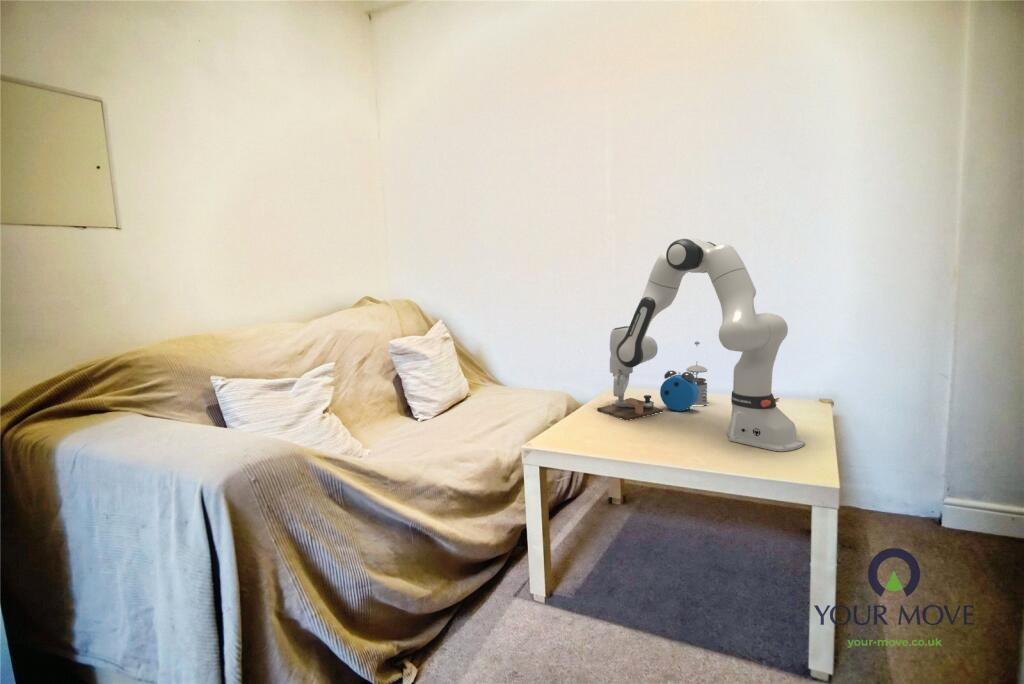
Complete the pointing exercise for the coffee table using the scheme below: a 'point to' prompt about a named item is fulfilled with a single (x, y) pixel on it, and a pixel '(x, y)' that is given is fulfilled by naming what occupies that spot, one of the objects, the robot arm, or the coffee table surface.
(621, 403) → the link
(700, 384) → the french press
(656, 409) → the pivot board
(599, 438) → the coffee table surface
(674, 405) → the alarm clock
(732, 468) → the coffee table surface
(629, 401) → the keeper
